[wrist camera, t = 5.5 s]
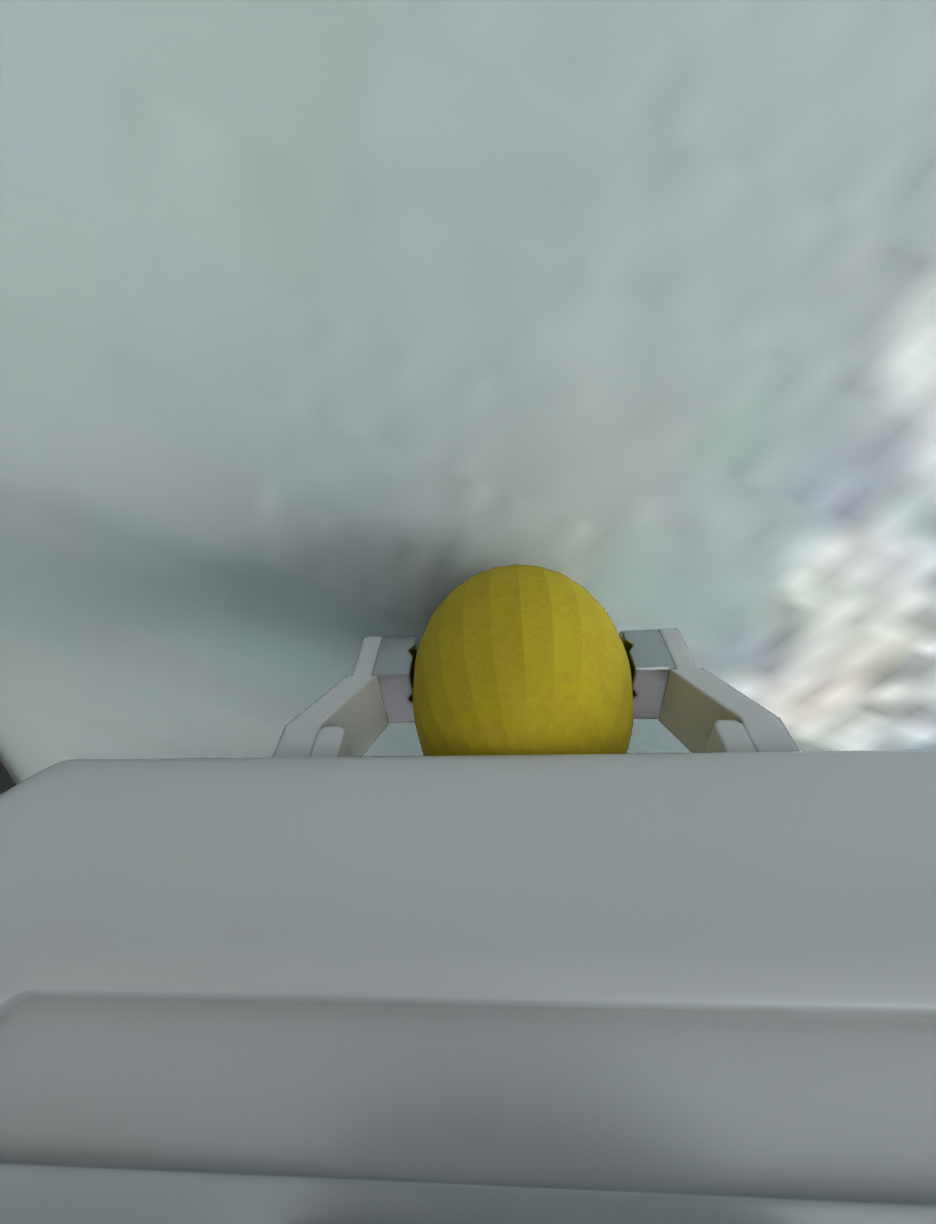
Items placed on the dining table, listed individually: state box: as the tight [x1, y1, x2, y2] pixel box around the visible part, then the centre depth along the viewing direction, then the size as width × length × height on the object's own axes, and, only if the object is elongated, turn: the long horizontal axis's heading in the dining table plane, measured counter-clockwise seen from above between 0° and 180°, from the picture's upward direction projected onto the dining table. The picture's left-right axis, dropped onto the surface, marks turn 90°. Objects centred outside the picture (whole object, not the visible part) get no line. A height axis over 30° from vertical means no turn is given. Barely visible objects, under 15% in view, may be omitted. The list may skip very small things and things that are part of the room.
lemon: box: [413, 565, 634, 756], centre depth 13 cm, size 6×6×8 cm
